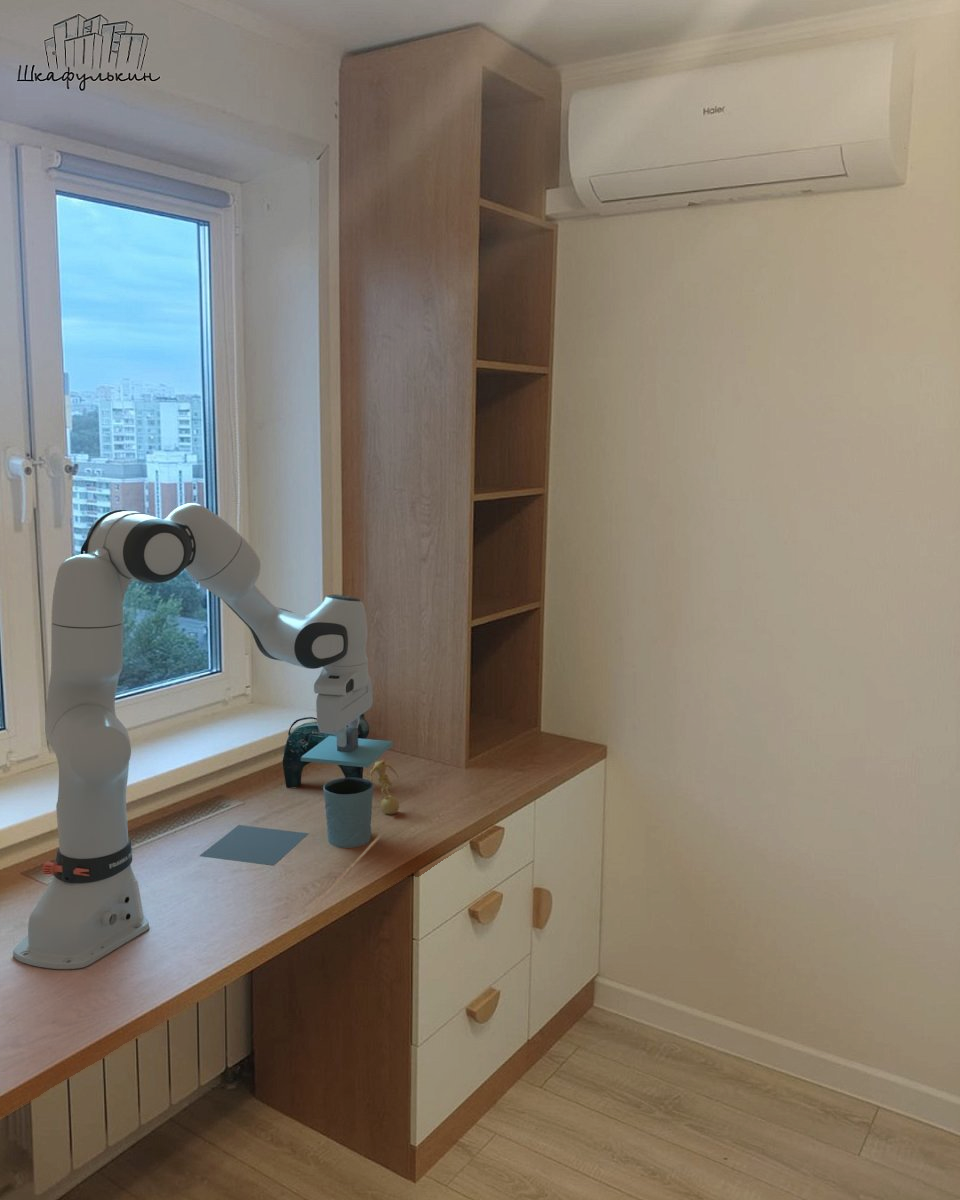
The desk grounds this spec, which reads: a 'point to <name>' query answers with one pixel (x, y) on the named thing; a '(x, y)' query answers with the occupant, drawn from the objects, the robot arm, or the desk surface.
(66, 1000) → the desk surface
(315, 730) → the ceramic cat
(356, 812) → the blue grey bin
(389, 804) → the figurine
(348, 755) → the lid
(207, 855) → the mat
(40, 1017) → the desk surface
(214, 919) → the desk surface
